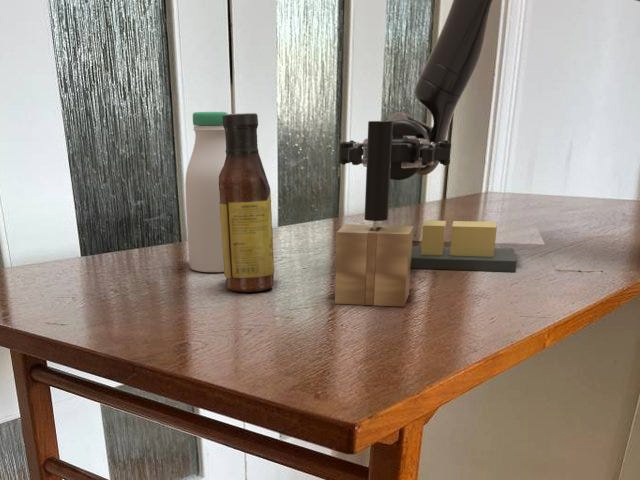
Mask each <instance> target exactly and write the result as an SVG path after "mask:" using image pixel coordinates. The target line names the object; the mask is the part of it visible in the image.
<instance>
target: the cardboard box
mask: <svg viewBox="0 0 640 480" xmlns="http://www.w3.org/2000/svg"><path fill="white" fill-rule="evenodd" d="M335 233H336V234H335V235H336V237H335V238H336V240H335V279H334V280H335V281H334V304H335V305H336V304H337V305H355V306H356V305H357V306H375V307H399V308H405V306H406V303H407V301H408V298H409V296H410V281H411V270H412V268H411V254H412V246H413V238H414V237H413V236H414V226H413V225H389V224H387V225H386V224H384V225H383V224H378V231H373V224H344V225H343V226H341V228H340V229H338V230H337V231H336V232H335Z"/></svg>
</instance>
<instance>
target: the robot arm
mask: <svg viewBox="0 0 640 480" xmlns="http://www.w3.org/2000/svg"><path fill="white" fill-rule="evenodd" d="M493 1H494V0H452V3H451V6H450V9H449V11H448V14H447V17H446V19H445V22H444V24H443V26H442V29H441V31H440V33H439V36H438V38H437V40H436V42H435V44H434V47H433V49H432V51H431V53H430V55H429V57H428V59H427V61H426V63H425V65H424V67H423V69H422V70H421V71H422V72H421V73H420V76H419V77H418V80H417V81H416V84H415V87H414V89H413V94H414V98H415V100H417V101H418V102H419V103H420V104H421V105H422V106H424V107H425V108H426V109H427V110H428V111H429V113H430V114H431V116H432V121H433V124H432V126H430V125H428V124H426V123H424V122H422V121H421V120H419V119H418V118H415V117H414V116H412V115H410V114H408V113H406V112H403V111H398V112H395V113H393V114H392V115H391V116H390V117H389V118H388V119H387V120H386V121H393V128H392V147H391V166H390V180H392V181H403V180H407V179H409V178H411V177H413V176H414V175H415V174H416V175H418V176H427V175H429V174H430V173H432V172H433V171H434V170H436V169H437V167H438V166H439V164H440V165H443V166H448V165H450V164H451V149H452V142H451V141H449V140H447V137H448V133H449V129H450V125H451V121H452V119H453V115H454V113H455V110H456V108H457V106H458V104H459V102H460V100H461V98H462V95H463V94H464V92H465V90H466V89H467V86H468V84H469V82H470V81H471V78H472V77H473V75H474V73H475V71H476V68H477V66H478V64H479V61H480V59H481V56H482V52H483V49H484V45H485V39H486V33H487V28H488V23H489V22H488V21H489V17H490V13H491V8H492V5H493ZM635 1H636V2H638V3H640V0H635ZM367 142H368V137H367V138H365V139H364V140H363V141H362V142H359V141H354V140H352V139H351V140H349V141H342V142H339V145H338V146H339V147H338V148H339V149H338V164H341V165H342V166H344V165H346V164H350V163H351V165H352V166H359V165H362V166H363V167H365V168H367Z"/></svg>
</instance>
